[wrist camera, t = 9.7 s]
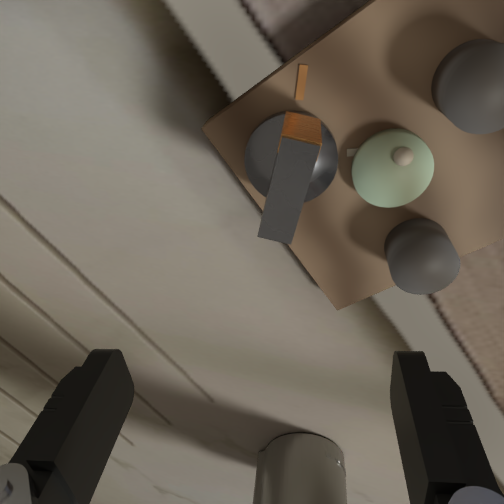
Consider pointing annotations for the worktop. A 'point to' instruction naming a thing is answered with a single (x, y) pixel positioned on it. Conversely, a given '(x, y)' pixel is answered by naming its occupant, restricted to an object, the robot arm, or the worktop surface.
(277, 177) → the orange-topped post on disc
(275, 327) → the worktop surface
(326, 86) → the tribrach base
